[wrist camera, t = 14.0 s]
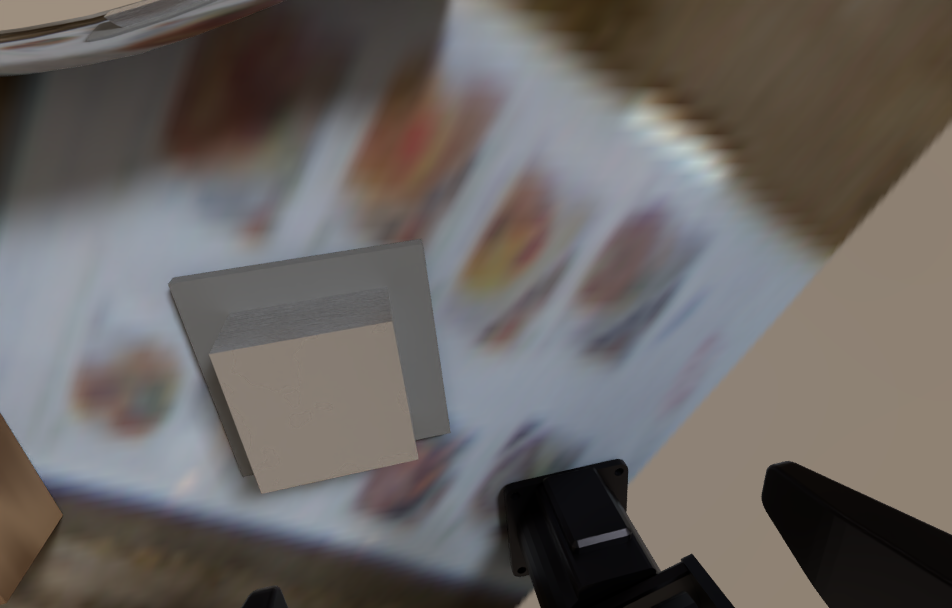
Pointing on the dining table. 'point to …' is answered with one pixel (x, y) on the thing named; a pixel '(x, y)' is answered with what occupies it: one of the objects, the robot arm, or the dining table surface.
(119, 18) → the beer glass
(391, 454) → the square block
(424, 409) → the mat
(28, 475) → the plane body
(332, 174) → the dining table surface
